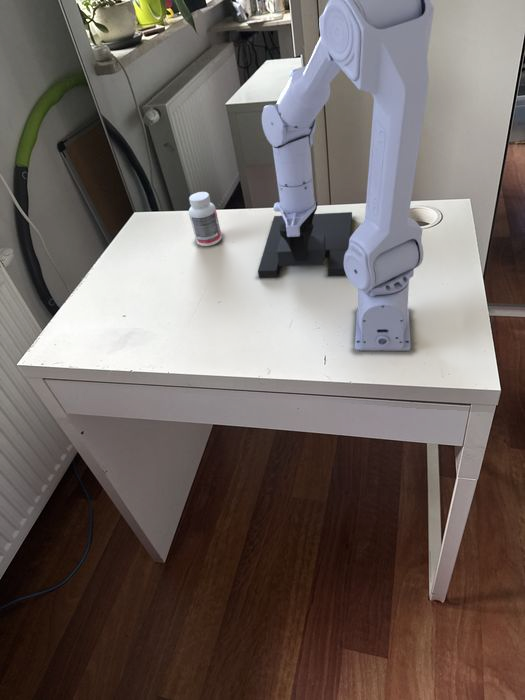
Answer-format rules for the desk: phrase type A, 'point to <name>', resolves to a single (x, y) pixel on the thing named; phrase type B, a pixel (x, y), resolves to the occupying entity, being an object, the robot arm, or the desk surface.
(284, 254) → the small pad
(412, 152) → the robot arm
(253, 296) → the desk surface
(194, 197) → the pill bottle
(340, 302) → the desk surface
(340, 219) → the big pad
